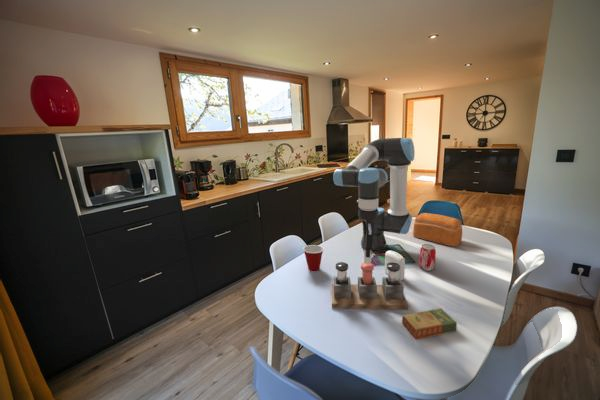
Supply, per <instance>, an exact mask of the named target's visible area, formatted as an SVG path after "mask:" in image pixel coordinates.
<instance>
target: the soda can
mask: <svg viewBox="0 0 600 400" xmlns="http://www.w3.org/2000/svg"><path fill="white" fill-rule="evenodd" d="M435 247H436V246H434V245H432V244H429V243H424V244H422V245H421V247H420V250H419V262H418V264H419V265H418V266H419V268H420V269H422V270H423V271H426V272H427V271H428V272H430V271H433V270H434V269H435V265H436V256H437V255H436V254H437V251H436V248H435Z"/></svg>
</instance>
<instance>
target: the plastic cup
mask: <svg viewBox="0 0 600 400" xmlns="http://www.w3.org/2000/svg"><path fill="white" fill-rule="evenodd" d="M302 251H303V252H304V256H305V260H306V264H307V269H308V270H310V272H311V273H315V272H319V270H320V268H321V263H322V256H323V252H324V251H325V248H324V247H323V246H321V245H317V244H310V245H309V244H308V245H305V246H304V247H302Z"/></svg>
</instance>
